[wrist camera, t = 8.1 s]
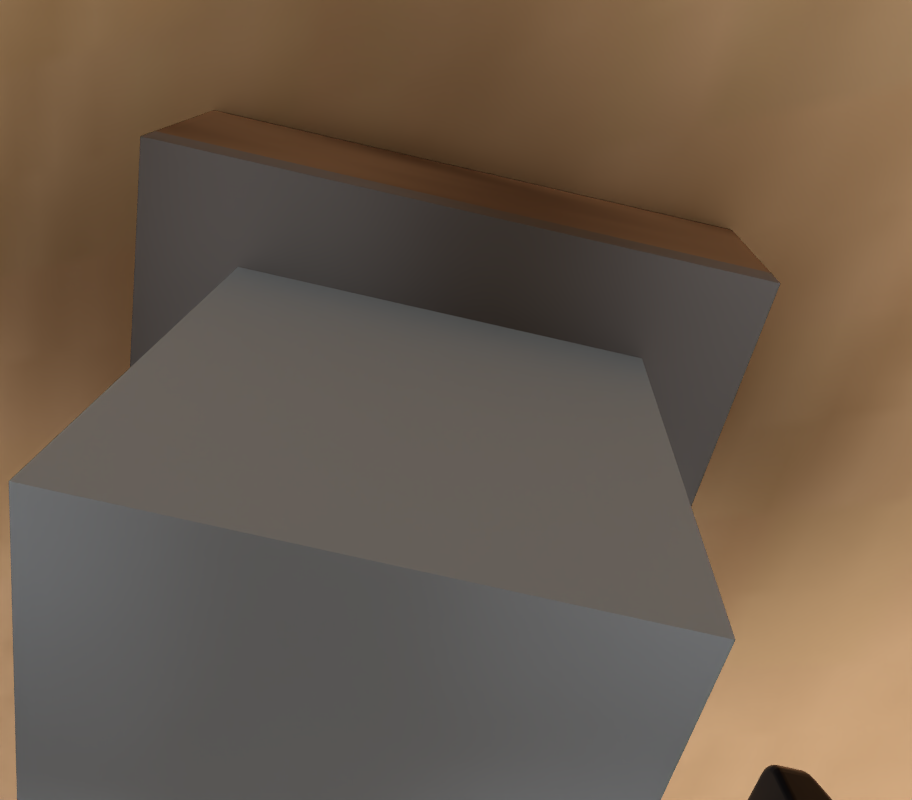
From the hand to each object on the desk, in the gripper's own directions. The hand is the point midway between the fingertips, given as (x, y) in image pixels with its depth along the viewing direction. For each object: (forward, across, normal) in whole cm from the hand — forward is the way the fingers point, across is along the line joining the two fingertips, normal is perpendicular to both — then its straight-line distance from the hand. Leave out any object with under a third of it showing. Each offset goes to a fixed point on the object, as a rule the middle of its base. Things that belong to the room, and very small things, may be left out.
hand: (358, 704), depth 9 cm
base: (+8, 0, 0) cm, 8 cm away
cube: (+5, 0, 0) cm, 5 cm away
